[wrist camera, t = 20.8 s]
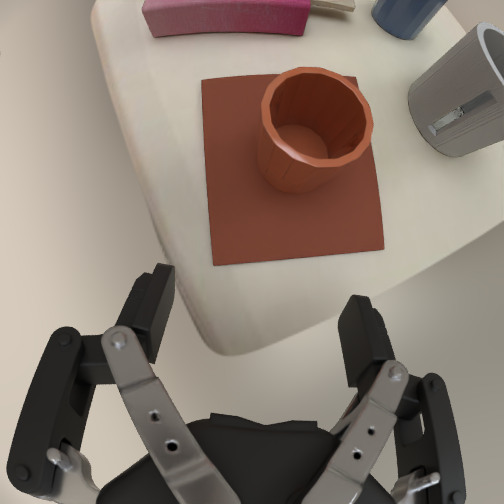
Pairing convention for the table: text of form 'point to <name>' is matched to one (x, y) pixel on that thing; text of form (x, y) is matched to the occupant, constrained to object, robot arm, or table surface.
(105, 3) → the table surface
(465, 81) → the cup
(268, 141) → the terracotta tumbler
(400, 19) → the blue tumbler
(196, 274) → the table surface
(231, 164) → the clay mat
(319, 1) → the popsicle
